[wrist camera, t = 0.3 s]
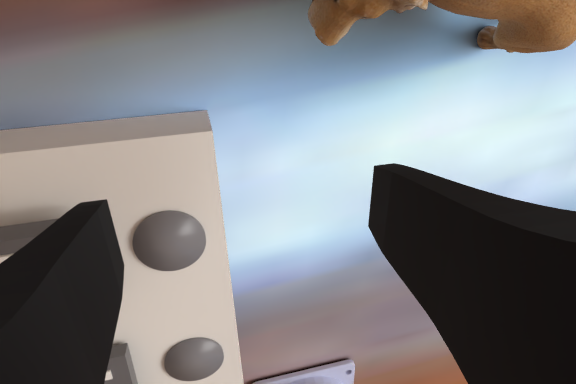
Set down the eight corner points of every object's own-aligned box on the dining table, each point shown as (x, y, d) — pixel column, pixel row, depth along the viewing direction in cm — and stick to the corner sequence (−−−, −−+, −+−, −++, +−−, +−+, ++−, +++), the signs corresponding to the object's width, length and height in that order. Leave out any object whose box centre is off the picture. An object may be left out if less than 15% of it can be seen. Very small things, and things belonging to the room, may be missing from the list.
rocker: (114, 288, 19) (110, 315, 18) (21, 305, 18) (11, 334, 17) (82, 206, 16) (76, 231, 15) (-30, 222, 15) (-46, 250, 14)
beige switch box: (239, 363, 27) (246, 405, 25) (67, 402, 25) (54, 454, 23) (207, 110, 19) (212, 132, 16) (-59, 135, 17) (-105, 167, 14)
